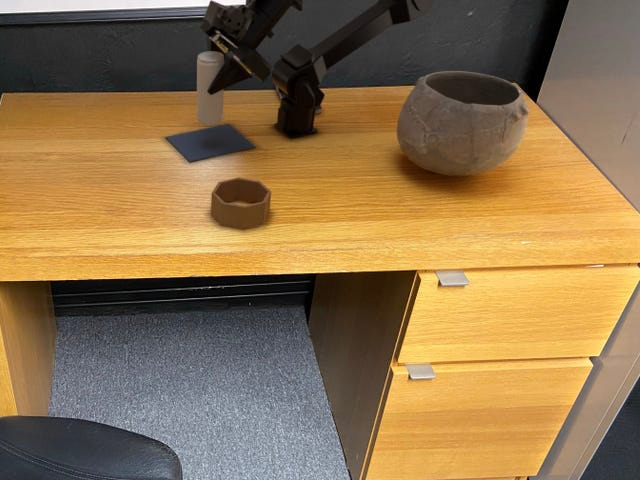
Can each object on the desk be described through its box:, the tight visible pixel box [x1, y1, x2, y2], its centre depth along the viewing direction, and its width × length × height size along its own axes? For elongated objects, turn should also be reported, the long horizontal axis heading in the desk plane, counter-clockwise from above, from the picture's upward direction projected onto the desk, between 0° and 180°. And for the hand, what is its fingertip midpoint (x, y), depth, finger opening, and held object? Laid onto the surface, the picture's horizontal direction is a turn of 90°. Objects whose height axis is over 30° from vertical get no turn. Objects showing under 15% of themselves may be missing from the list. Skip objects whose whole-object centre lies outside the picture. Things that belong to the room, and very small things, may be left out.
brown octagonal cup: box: [210, 177, 272, 230], centre depth 113 cm, size 9×9×4 cm
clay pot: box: [396, 70, 531, 176], centre depth 121 cm, size 21×21×15 cm
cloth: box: [165, 123, 257, 163], centre depth 133 cm, size 14×11×1 cm
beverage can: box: [196, 51, 225, 128], centre depth 125 cm, size 5×5×12 cm
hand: (203, 88), depth 124 cm, fingers closed on beverage can, 5 cm apart
